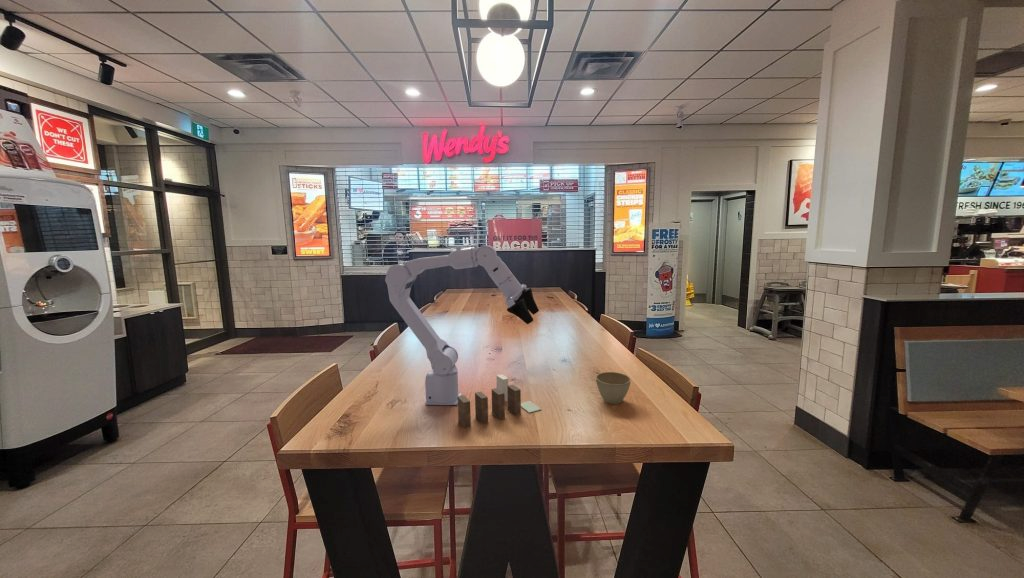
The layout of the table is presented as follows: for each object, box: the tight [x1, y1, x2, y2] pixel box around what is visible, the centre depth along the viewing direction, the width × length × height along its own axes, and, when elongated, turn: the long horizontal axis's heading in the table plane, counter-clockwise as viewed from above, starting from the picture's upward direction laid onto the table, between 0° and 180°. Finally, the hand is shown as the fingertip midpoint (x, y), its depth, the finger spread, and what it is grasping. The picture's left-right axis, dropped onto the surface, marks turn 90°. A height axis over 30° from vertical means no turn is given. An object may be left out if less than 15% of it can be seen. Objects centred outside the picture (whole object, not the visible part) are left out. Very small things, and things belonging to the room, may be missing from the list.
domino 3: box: [495, 373, 509, 403], centre depth 118 cm, size 2×4×7 cm, turn 28°
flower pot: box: [595, 371, 632, 405], centre depth 115 cm, size 10×10×7 cm
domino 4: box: [491, 387, 506, 420], centre depth 107 cm, size 2×4×7 cm, turn 28°
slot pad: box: [521, 400, 542, 414], centre depth 112 cm, size 4×6×1 cm, turn 28°
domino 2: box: [474, 391, 489, 425], centre depth 104 cm, size 2×4×7 cm, turn 28°
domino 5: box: [507, 384, 522, 416], centre depth 109 cm, size 2×4×7 cm, turn 29°
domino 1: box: [457, 394, 472, 429], centre depth 102 cm, size 2×4×7 cm, turn 28°
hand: (533, 317), depth 113 cm, fingers open, 7 cm apart
